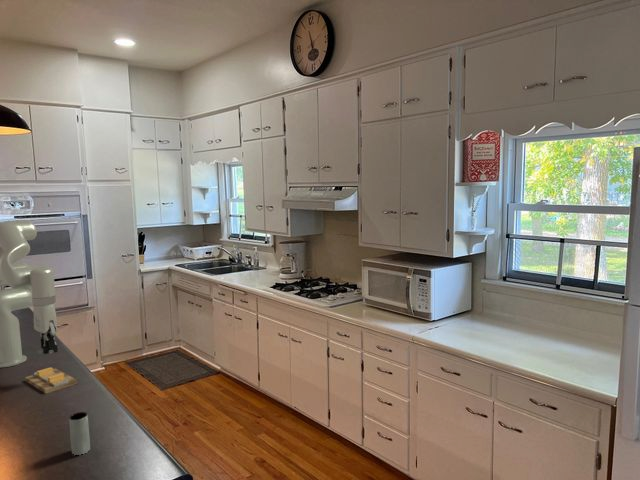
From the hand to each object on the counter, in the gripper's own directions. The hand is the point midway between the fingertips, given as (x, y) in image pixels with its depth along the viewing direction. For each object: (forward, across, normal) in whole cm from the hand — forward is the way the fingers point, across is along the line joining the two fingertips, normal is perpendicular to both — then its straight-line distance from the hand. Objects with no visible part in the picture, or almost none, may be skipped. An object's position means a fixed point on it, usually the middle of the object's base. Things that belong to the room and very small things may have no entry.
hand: (48, 348), depth 176 cm
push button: (+2, 0, 0) cm, 2 cm away
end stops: (+11, 0, 0) cm, 11 cm away
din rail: (+12, 0, 0) cm, 12 cm away
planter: (+14, +59, -15) cm, 62 cm away
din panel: (+13, 0, 0) cm, 13 cm away
